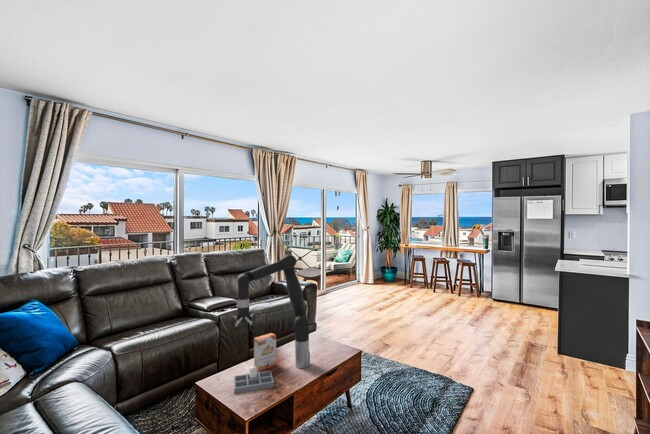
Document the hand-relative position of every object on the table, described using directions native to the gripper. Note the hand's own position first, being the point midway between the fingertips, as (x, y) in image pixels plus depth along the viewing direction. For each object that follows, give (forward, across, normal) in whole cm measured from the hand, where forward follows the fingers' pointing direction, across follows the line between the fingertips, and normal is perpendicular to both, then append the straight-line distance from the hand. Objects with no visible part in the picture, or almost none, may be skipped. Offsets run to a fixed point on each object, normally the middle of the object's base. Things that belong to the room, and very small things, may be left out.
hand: (243, 331), depth 202 cm
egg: (+27, -5, +10) cm, 29 cm away
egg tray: (+28, -5, +14) cm, 31 cm away
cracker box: (+28, -14, -5) cm, 32 cm away
